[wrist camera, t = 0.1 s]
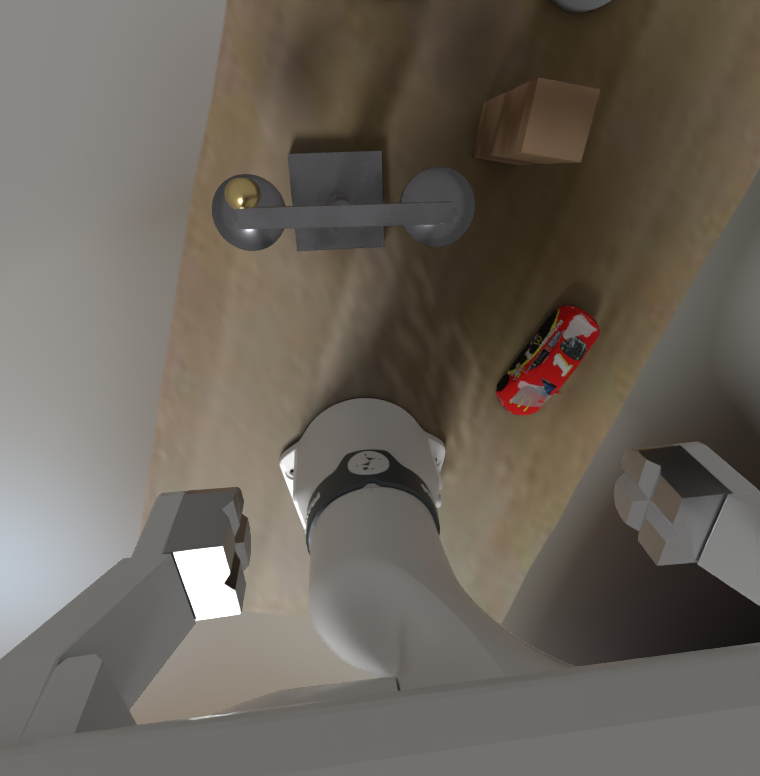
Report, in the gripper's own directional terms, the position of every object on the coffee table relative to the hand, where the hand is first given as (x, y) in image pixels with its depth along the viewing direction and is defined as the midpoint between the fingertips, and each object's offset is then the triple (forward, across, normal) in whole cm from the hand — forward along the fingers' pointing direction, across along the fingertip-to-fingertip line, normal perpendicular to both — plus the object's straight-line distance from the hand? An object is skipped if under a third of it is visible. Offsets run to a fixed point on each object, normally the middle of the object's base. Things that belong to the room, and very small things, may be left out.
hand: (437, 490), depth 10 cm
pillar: (+40, +14, +5) cm, 42 cm away
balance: (+39, -1, 0) cm, 39 cm away
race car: (+38, +20, -17) cm, 46 cm away
